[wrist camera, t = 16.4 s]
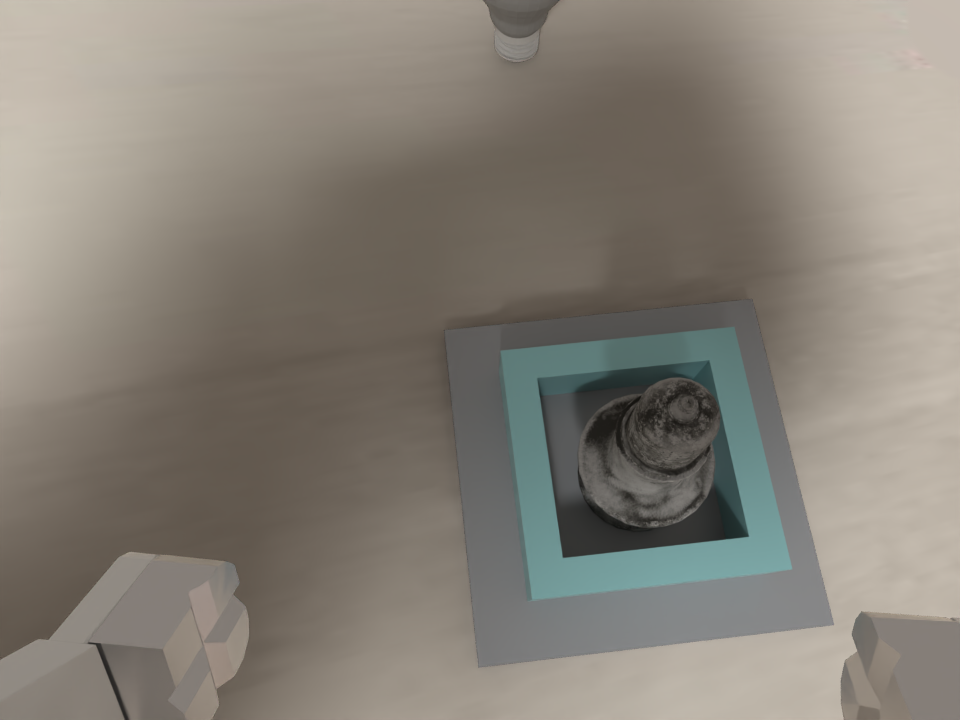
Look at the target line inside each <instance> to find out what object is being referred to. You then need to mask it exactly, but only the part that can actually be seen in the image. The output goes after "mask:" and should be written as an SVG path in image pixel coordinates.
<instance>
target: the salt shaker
mask: <svg viewBox="0 0 960 720" xmlns="http://www.w3.org/2000/svg"><path fill="white" fill-rule="evenodd" d="M720 417H721V416H720V410H719V406H718V404H717V402H716V400H715V398H714V396H713V395H712V394H711V393H710V392H709V390H708V389H706V388H705V387H704V386H702V385H701V384H700V383H697V382H695V381H693V380H690V379H686V378H680V377H678V378H668V379H665V380H661V381H659V382H657V383H655V384H654V385H652V386H651V387H649V388H648V389H647V390H646V391H645V392H644V394H629V395H626V396H623V397H620V398H617V399H614V400H612V401H610V402H609V403H607V404H606V405H604V406H602V407H601V408H599V409H598V410H597V411H596V413H595V414H594V415H593V416H592V417H591V418H590V419H589V421H588V422H587V424H586V426H585V428H584V430H583V432H582V435H581V437H580V442H579V447H578V453H577V456H578V481H579V487H580V490H581V492H582V495H583V498H584V500H585V501H586V503H587V504H588V506H589V507H590V508H591V510H592V511H593V512H594V513H595V514H596V515H597V516H598V517H600V518H601V519H602V520H603V521H604V522H606V523H608V524H610V525H612V526H614V527H616V528H618V529H623V530H628V531H633V532H634V531H648V530H651V529H654V528H657V527H665V526H668V525H671V524H674V523H677V522H680V521H682V520H683V519H685V518H686V517H688V516H689V515H690V514H692V513H693V512H695V511H696V510H697V509H698V508H699V506H700V505H701V504H702V503H703V501H704V500H705V499H706V498H707V496H708V493H709V491H710V488H711V486H712V484H713V481H714V473H715V464H716V463H715V457H714V450H713V445H712V441H713V440H714V439H715V437H716V435H717V433H718V430H719V426H720Z"/></svg>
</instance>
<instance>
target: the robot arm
mask: <svg viewBox="0 0 960 720" xmlns="http://www.w3.org/2000/svg"><path fill="white" fill-rule="evenodd" d="M239 583H240V581H239V578H238V574H237V571H236V568H235V565H234V564H232V563H230V562H227V561H220V560H211V559H201V558H192V557H183V556H173V555H164V554H162V555H156V554H147V553H138V552H128V553H126V554H124V555H122V556H120V557H118V558H117V560H116V561H115V562H114V563H113V564H112V565H111V567H110V568H109V569H108V570H107V571H106V573H105V574H104V575H103V576H102V577H101V578H100V580H99V581H98V582H97V583H96V584H95V586H94V587H93V588H92V589H91V590H90V591H89V593H88V594H87V595H86V596H85V597H84V598H83V600H82V601H81V602H80V603H79V604H78V606H77V607H76V608H75V609H74V610H73V611H72V613H71V614H70V615H69V616H68V617H67V619H66V620H65V621H64V622H63V623H62V624H61V626H60V627H59V628H58V629H57V630H56V632H55V633H54V634H53V635H52V636H51V637H50V639H49V640H45V639H37V640H35V641H34V642H32V643H30V644H28V645H26V646H24V647H23V648H21V649H19V650H17V651H15V652H13V653H12V654H10V655H8V656H6V657H4V658H3V659H1V660H0V720H212V718H213V716H214V714H215V712H216V710H217V708H218V707H219V705H220V704H219V699H218V695H217V690H216V689H217V688H219V687H220V686H222V685H223V684H224V683H226V682H227V681H229V680H230V679H231V678H233V677H234V676H235V675H236V673H237V671H238V669H239V667H240V665H241V663H242V661H243V659H244V655H245V651H246V647H247V643H248V639H249V617H248V613H247V609H246V606H245V605H244V604H243V603H242V602H241V601H240V600H239V599H238V598H237V597H236V596H235V595H234V594H233V593H234V592H235V590H236V588H237V587H238V585H239ZM852 637H853V640H854V642H855V645H856V648H857V652H856V653H855V654H853V655H852V656H850V657H849V658H848V659H846V660H845V663H844V667H843V672H842V677H841V706H842V712H843V717H844V720H960V618H950V619H949V618H946V617H933V616H919V615H905V614H891V613H877V612H861V613H860V614H859V616H858V617H857V618H856V620H855V624H854V627H853V631H852Z"/></svg>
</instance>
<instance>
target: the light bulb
mask: <svg viewBox="0 0 960 720" xmlns="http://www.w3.org/2000/svg"><path fill="white" fill-rule="evenodd" d="M483 1H484V2H485V3H486V4H487V6H488V7H489V12H490V16H491V19H492V22H493V23H494V25H495V37H494V47H495V50H496V52H497V53H498V54H499V55H500V56H501V57H502V58H504V59H506V60H508V61H512V62H522V61H526V60H528V59H530V58H532V57H533V56H534V55H535V54H536V52H537V50H538V45H539V35H540V28H541V26H542V25H543V23H544V22H545V20H546V17H547V14H548V11H549V10H550V9H551V8H552V7H553V6H554V5H555V4H556V3H557V2H558V1H559V0H483Z"/></svg>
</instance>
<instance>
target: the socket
mask: <svg viewBox="0 0 960 720" xmlns="http://www.w3.org/2000/svg"><path fill="white" fill-rule="evenodd" d="M444 334H445V344H446V353H447V363H448V373H449V383H450V393H451V403H452V412H453V422H454V432H455V442H456V452H457V462H458V471H459V481H460V491H461V501H462V511H463V521H464V530H465V540H466V550H467V560H468V570H469V580H470V589H471V599H472V609H473V619H474V629H475V639H476V648H477V658H478V668H479V667H487V666H495V665H504V664H512V663H521V662H529V661H537V660H546V659H554V658H562V657H571V656H579V655H587V654H596V653H604V652H613V651H621V650H629V649H638V648H646V647H654V646H663V645H671V644H680V643H688V642H696V641H705V640H713V639H721V638H730V637H738V636H746V635H755V634H763V633H772V632H780V631H788V630H797V629H805V628H813V627H822V626H830V625H834V622H833V618H832V614H831V610H830V606H829V602H828V598H827V594H826V590H825V586H824V582H823V578H822V574H821V570H820V567H819V563H818V559H817V555H816V551H815V547H814V543H813V539H812V535H811V531H810V527H809V523H808V519H807V515H806V511H805V507H804V503H803V499H802V495H801V491H800V487H799V483H798V479H797V475H796V471H795V467H794V463H793V459H792V455H791V451H790V447H789V443H788V439H787V435H786V431H785V427H784V423H783V419H782V415H781V411H780V407H779V403H778V400H777V396H776V392H775V388H774V384H773V380H772V376H771V372H770V368H769V364H768V360H767V356H766V352H765V348H764V344H763V340H762V336H761V332H760V328H759V324H758V320H757V316H756V312H755V308H754V304H753V300H752V299H746V300H736V301H726V302H716V303H706V304H696V305H686V306H677V307H667V308H657V309H647V310H637V311H627V312H617V313H607V314H597V315H588V316H578V317H568V318H558V319H548V320H538V321H528V322H518V323H508V324H499V325H489V326H479V327H469V328H459V329H449V330H444ZM678 377H680V378H686V379H690V380H693V381H695V382H697V383H700V384H701V385H702V386H704V387H705V388H706V389H708V390H709V392H710V393H711V394H712V395H713V396H714V398H715V400H716V402H717V404H718V406H719V410H720V416H721V417H720V426H719V430H718V433H717V435H716V437H715V439H714V440H713V441H712V445H713V450H714V457H715V463H716V464H715V473H714V481H713V484H712V486H711V488H710V491H709V493H708V496H707V498H706V499H705V500H704V501H703V503H702V504H701V505H700V506H699V508H698V509H697V510H696V511H695V512H693V513H692V514H690V515H689V516H688V517H686V518H685V519H683V520H682V521H680V522H677V523H674V524H671V525H668V526H665V527H657V528H654V529H651V530H648V531H634V532H633V531H628V530H623V529H618V528H616V527H614V526H612V525H610V524H608V523H606V522H604V521H603V520H602V519H601V518H600V517H598V516H597V515H596V514H595V513H594V512H593V511H592V510H591V508H590V507H589V506H588V504H587V503H586V501H585V500H584V498H583V495H582V492H581V490H580V487H579V481H578V456H577V453H578V447H579V442H580V437H581V435H582V432H583V430H584V428H585V426H586V424H587V422H588V421H589V419H590V418H591V417H592V416H593V415H594V414H595V413H596V411H597V410H598V409H599V408H601V407H602V406H604V405H606V404H607V403H609V402H610V401H612V400H614V399H617V398H620V397H623V396H626V395H629V394H644V392H645V391H646V390H647V389H648V388H649V387H651V386H652V385H654V384H655V383H657V382H659V381H661V380H665V379H668V378H678Z"/></svg>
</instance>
